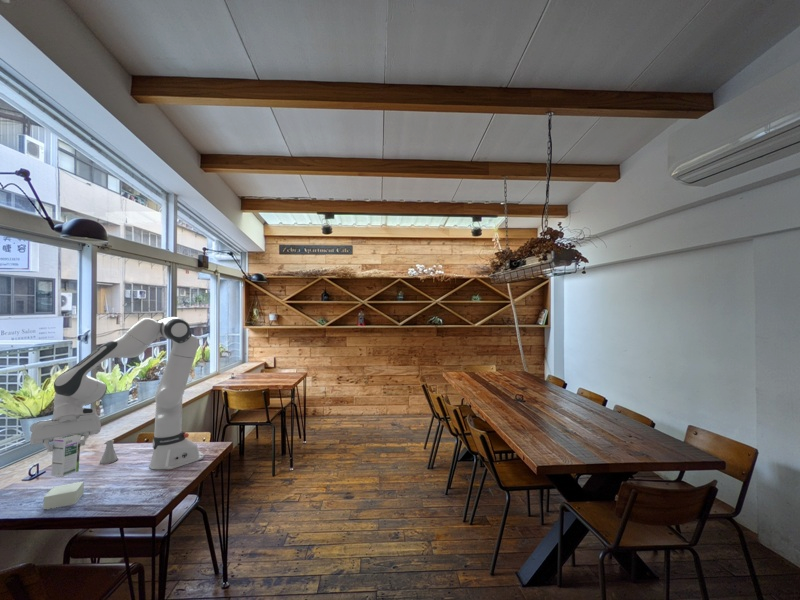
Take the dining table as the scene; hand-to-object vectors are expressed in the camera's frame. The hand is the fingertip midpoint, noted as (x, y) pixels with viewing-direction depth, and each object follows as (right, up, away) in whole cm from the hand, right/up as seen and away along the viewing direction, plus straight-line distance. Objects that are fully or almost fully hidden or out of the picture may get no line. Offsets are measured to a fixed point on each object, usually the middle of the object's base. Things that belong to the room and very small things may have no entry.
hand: (66, 447), depth 133 cm
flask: (-15, -23, +37) cm, 46 cm away
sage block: (0, -21, -1) cm, 21 cm away
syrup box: (-1, -10, 0) cm, 10 cm away
